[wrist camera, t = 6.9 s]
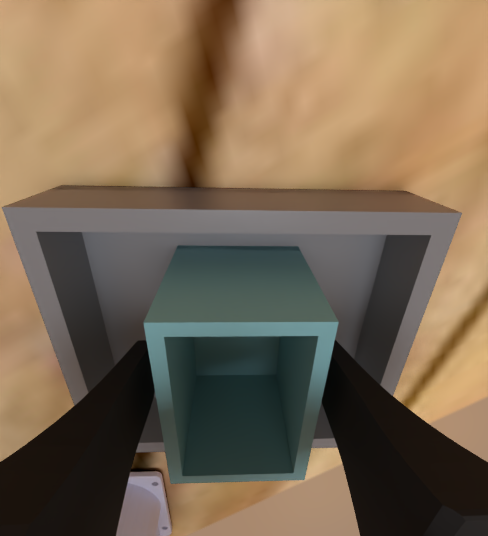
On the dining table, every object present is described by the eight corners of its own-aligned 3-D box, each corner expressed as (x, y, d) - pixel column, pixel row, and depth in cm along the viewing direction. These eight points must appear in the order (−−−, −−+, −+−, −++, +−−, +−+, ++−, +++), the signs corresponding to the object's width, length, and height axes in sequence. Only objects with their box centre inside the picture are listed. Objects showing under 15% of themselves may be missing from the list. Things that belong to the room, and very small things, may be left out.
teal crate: (282, 374, 16) (304, 479, 12) (189, 374, 16) (170, 483, 11) (298, 246, 13) (338, 322, 8) (177, 245, 13) (143, 322, 8)
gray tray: (349, 392, 19) (373, 446, 15) (116, 395, 18) (92, 453, 15) (405, 190, 13) (462, 212, 10) (61, 185, 12) (1, 207, 9)
